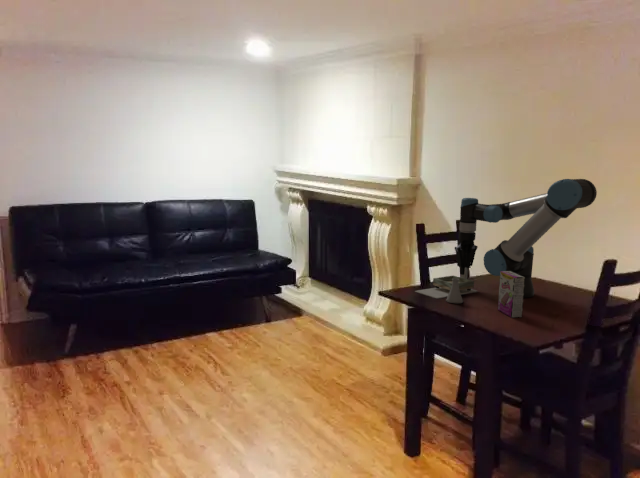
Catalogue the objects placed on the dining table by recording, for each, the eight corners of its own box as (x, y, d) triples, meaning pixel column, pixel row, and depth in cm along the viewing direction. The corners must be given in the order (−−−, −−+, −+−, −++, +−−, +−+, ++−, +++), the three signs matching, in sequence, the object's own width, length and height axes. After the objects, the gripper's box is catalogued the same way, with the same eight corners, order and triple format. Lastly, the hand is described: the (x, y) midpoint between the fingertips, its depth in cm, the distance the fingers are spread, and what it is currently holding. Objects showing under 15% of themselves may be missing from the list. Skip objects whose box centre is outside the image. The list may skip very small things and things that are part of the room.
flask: (461, 300, 251) (463, 277, 250) (464, 304, 244) (465, 281, 242) (444, 299, 252) (446, 276, 250) (446, 303, 245) (448, 280, 243)
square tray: (473, 290, 265) (474, 281, 264) (453, 294, 258) (454, 284, 257) (452, 284, 276) (453, 275, 275) (432, 288, 269) (433, 278, 268)
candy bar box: (496, 310, 236) (499, 270, 234) (507, 309, 237) (510, 270, 235) (510, 318, 226) (514, 277, 223) (522, 317, 227) (525, 276, 224)
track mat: (477, 291, 266) (477, 290, 266) (436, 298, 252) (436, 297, 252) (455, 285, 277) (455, 284, 277) (414, 291, 263) (414, 290, 263)
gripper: (471, 229, 273) (467, 278, 277) (451, 231, 266) (447, 280, 270) (483, 231, 267) (479, 281, 271) (463, 233, 260) (459, 284, 264)
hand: (463, 281), depth 271 cm, fingers closed
